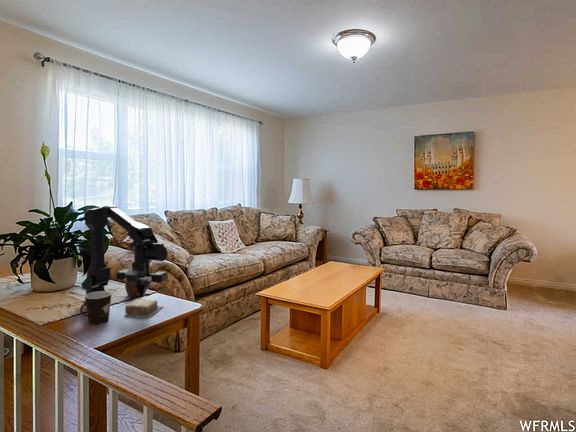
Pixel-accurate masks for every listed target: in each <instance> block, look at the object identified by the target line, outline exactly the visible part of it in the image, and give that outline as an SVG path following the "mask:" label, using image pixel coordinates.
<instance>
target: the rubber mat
mask: <svg viewBox="0 0 576 432" xmlns="http://www.w3.org/2000/svg"><path fill="white" fill-rule="evenodd" d="M163 308H164V306H161V305H160V306H159V305H157V308H156V309H155V310H154V311H152V312H151V313H149V314H148V315H141V314H128V313H125V314H124V316H125V317H134V318H135V317H136V318H145V319H146V318H147V319H149V318H151V317H153V316H154V315H155V314H157V313H158V312H160V311H161V310H162V309H163Z"/></svg>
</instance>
